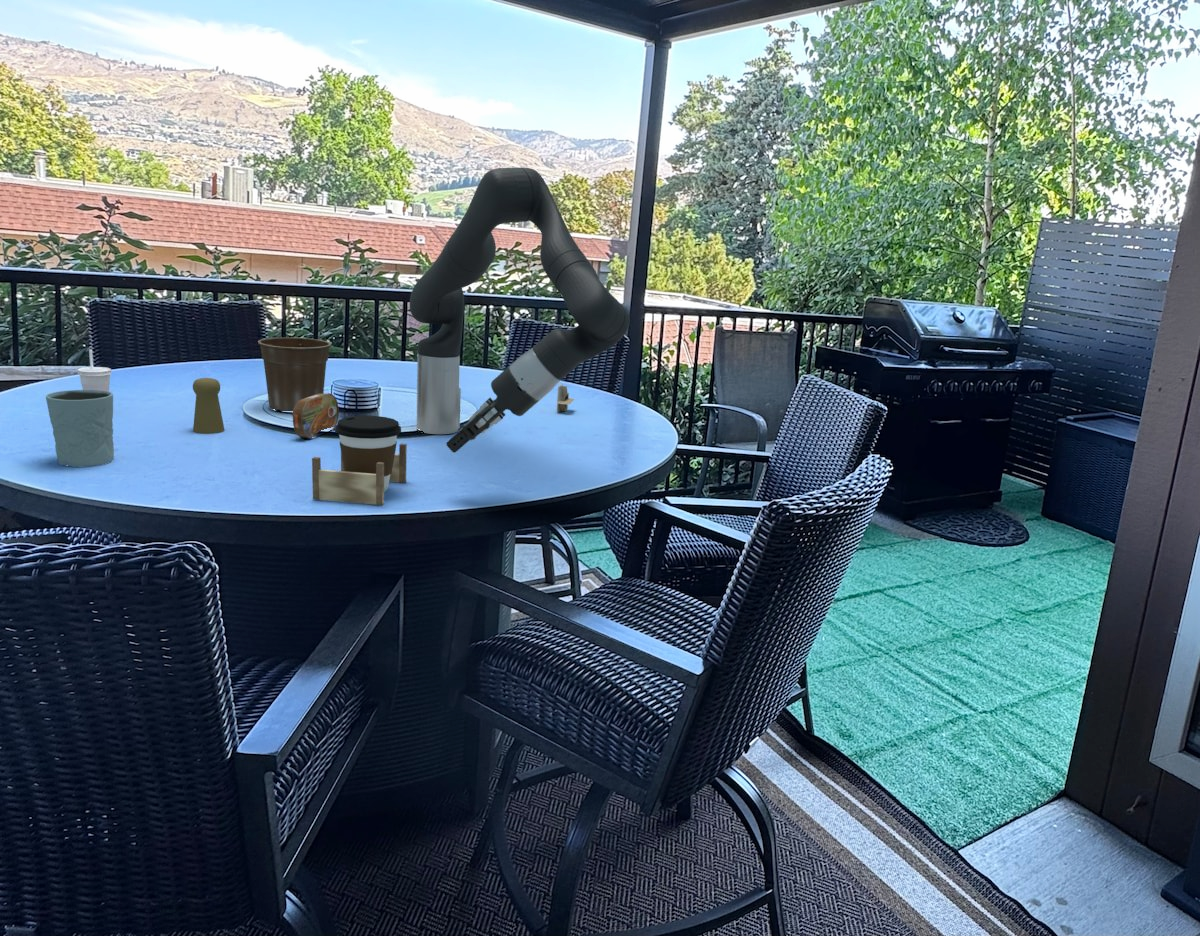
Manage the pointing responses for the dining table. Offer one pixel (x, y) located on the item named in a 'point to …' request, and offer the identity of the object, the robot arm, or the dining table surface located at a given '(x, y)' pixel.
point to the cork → (207, 407)
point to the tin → (315, 414)
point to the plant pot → (293, 369)
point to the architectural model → (563, 398)
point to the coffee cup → (368, 443)
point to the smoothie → (94, 376)
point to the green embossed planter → (82, 426)
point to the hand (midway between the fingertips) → (450, 447)
